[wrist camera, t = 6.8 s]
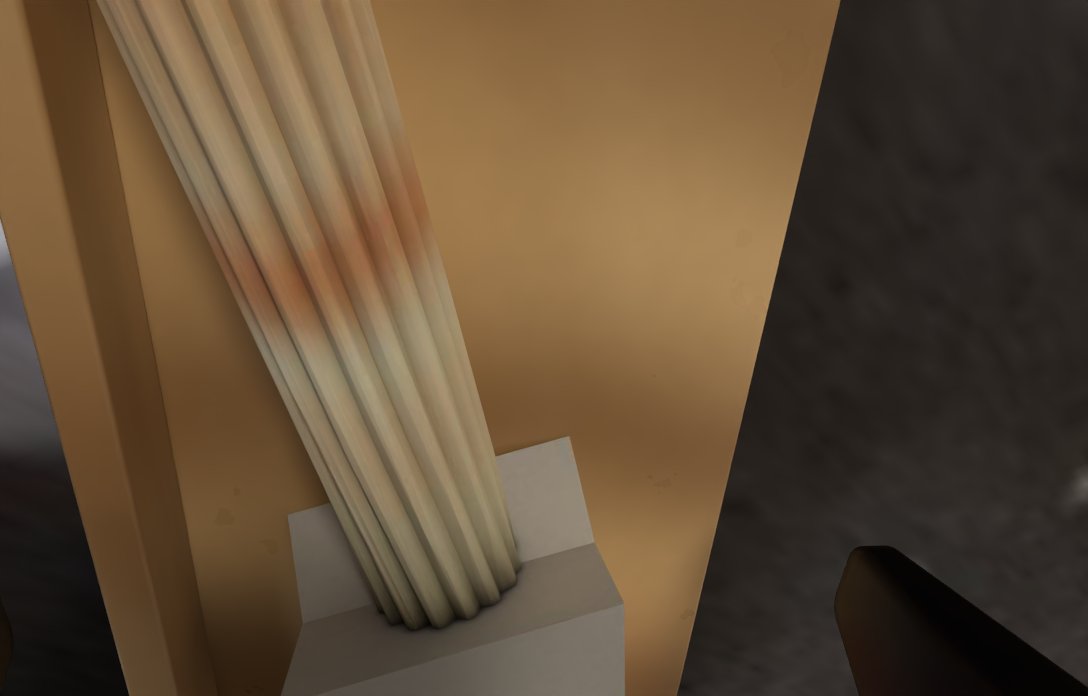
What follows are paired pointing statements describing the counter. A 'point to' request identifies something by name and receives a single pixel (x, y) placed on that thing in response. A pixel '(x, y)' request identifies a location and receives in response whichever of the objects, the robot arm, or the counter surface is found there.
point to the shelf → (474, 280)
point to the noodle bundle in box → (371, 365)
